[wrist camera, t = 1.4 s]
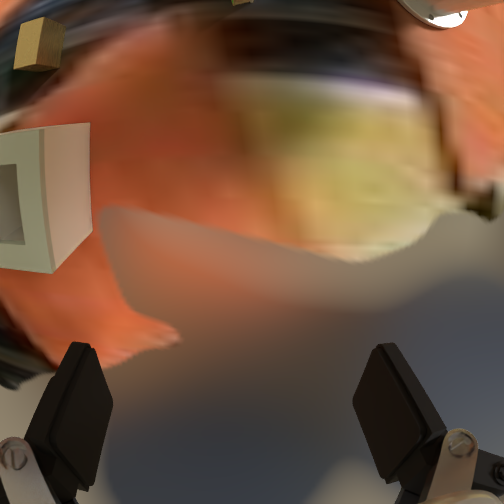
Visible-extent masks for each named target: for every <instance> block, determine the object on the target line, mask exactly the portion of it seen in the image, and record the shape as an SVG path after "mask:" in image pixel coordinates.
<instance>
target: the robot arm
mask: <svg viewBox="0 0 504 504" xmlns="http://www.w3.org/2000/svg"><path fill="white" fill-rule="evenodd" d="M398 2H399V3H400V4H401V5H402V6H403V7H404V8H405V9H406V10H407V11H408V12H410V13H411V14H412V15H413V16H415V17H416V18H417V19H419V20H420V21H422V22H424V23H426V24H428V25H430V26H433V27H436V28H442V29H446V28H452V27H456V26H458V25H460V24H461V23H462V22H463V21H464V20H465V17H466V15H467V11H469V10H473V9H478V8H482V7H486V6H491V5H496V4H501V3H504V0H398ZM353 407H354V409H355V412H356V414H357V417H358V420H359V422H360V425H361V427H362V430H363V433H364V435H365V438H366V440H367V443H368V446H369V448H370V451H371V453H372V456H373V459H374V462H375V464H376V467H377V470H378V472H379V475H380V477H381V478H383V479H385V481H386V484H390V483H392V482H396V481H399V482H400V484H401V489H400V492H399V494H398V496H397V498H396V501H395V503H394V504H504V458H503V457H500V456H497V455H494V454H491V453H488V452H486V451H483V450H480V449H478V443H477V440H476V438H475V437H474V435H473V434H471V433H470V432H469V431H467V430H465V429H453V430H451V431H449V432H448V431H447V430H446V426H445V424H444V423H443V421H442V419H441V418H440V416H439V414H438V412H437V411H436V409H435V407H434V405H433V404H432V402H431V400H430V399H429V397H428V395H427V394H426V392H425V390H424V389H423V387H422V385H421V384H420V382H419V380H418V379H417V377H416V376H415V374H414V372H413V371H412V369H411V367H410V366H409V365H408V363H407V361H406V360H405V358H404V357H403V355H402V353H401V352H400V350H399V349H398V347H397V346H396V344H395V343H384V344H378V345H377V346H376V348H375V349H373V350H372V352H371V355H370V357H369V360H368V362H367V365H366V368H365V370H364V373H363V375H362V377H361V380H360V382H359V385H358V387H357V389H356V392H355V394H354V396H353ZM112 408H113V399H112V396H111V394H110V391H109V389H108V386H107V383H106V381H105V377H104V375H103V372H102V369H101V366H100V363H99V360H98V357H97V354H96V351H95V349H94V348H91V346H90V344H88V343H81V342H72V343H71V344H70V346H69V348H68V350H67V352H66V354H65V356H64V358H63V360H62V362H61V364H60V366H59V368H58V370H57V372H56V374H55V376H53V377H52V378H51V379H50V381H49V383H48V385H47V387H46V389H45V391H44V393H43V396H42V398H41V400H40V402H39V404H38V407H37V409H36V411H35V413H34V415H33V418H32V420H31V423H30V425H29V427H28V430H27V432H26V434H25V437H24V439H21V438H19V437H9V438H6V439H4V440H2V441H1V442H0V504H79V503H78V502H77V500H76V498H75V497H76V493H77V489H79V490H83V491H86V492H88V490H89V486H92V485H93V484H94V482H95V477H96V473H97V469H98V464H99V460H100V455H101V451H102V446H103V443H104V439H105V435H106V430H107V427H108V423H109V419H110V416H111V412H112Z"/></svg>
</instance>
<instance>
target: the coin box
mask: <svg viewBox="0 0 504 504" xmlns="http://www.w3.org/2000/svg"><path fill="white" fill-rule="evenodd" d="M92 232H93V227H92V214H91V196H90V123H76V124H64V125H54V126H45V127H36V128H29V129H22V130H16V131H10V132H5V133H0V268H7V269H15V270H23V271H31V272H40V273H48V274H53V273H54V272H55V271H56V269H57V268H58V267H59V266H60V265H61V264H62V263H63V262H64V261H65V260H66V258H67V257H68V256H69V255H70V254H71V253H72V252H73V251H74V250H75V249H76V248H77V247H78V246H79V245H80V244H81V243H82V242H83V241H84V240H85V239H86V238H87V237H88V236H89V235H90V234H91V233H92Z"/></svg>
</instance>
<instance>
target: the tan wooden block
mask: <svg viewBox="0 0 504 504" xmlns="http://www.w3.org/2000/svg"><path fill="white" fill-rule="evenodd" d="M65 30H66V26H64V25H61V24H59V23H57V22H55V21H52V20H50V19H48V18H45V17H42V18H39V19H35V20H32V21H29V22H26V23H23V24H21V27H20V32H19V37H18V43H17V49H16V55H15V62H14V69H16V70H26V71H34V72H41V71H46V70H51V69H57V68H60V62H61V54H62V48H63V41H64V36H65Z"/></svg>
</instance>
